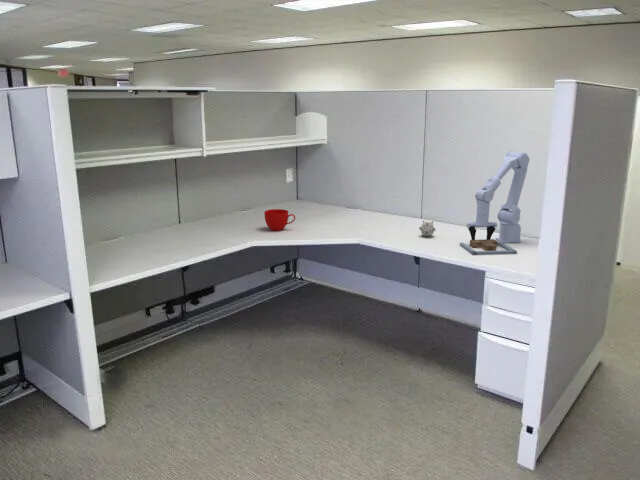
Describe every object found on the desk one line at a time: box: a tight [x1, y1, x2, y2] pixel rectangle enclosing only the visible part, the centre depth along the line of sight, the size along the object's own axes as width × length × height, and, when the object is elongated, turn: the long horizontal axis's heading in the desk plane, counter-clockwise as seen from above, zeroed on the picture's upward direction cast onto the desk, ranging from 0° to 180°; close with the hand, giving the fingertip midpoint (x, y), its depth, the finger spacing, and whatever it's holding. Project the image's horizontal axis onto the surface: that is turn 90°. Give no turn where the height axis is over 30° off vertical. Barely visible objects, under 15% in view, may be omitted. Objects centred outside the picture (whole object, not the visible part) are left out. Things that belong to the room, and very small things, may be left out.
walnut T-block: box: [469, 238, 498, 251], centre depth 257 cm, size 12×12×3 cm
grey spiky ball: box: [418, 220, 437, 238], centre depth 280 cm, size 9×8×10 cm
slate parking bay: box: [459, 241, 518, 256], centre depth 256 cm, size 21×17×1 cm
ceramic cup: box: [263, 208, 296, 232], centre depth 294 cm, size 13×17×10 cm
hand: (480, 241), depth 264 cm, fingers open, 7 cm apart
